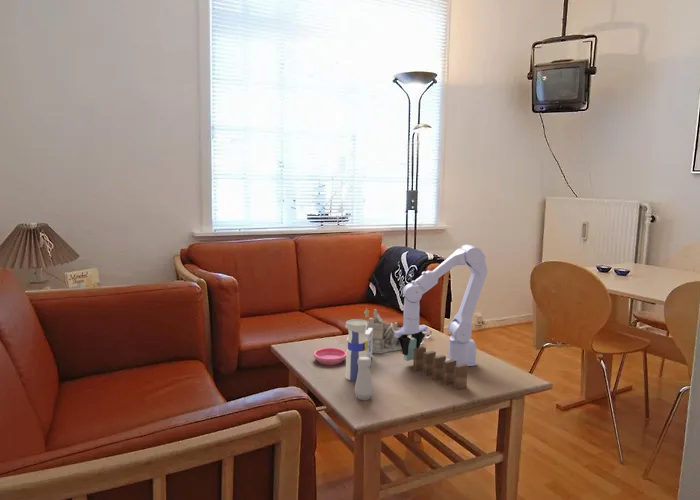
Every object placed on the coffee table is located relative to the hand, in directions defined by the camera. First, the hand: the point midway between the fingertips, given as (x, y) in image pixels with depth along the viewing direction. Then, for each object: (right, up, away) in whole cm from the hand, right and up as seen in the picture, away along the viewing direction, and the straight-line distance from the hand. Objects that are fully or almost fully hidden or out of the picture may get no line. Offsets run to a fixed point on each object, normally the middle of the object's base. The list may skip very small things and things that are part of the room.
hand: (410, 353), depth 195 cm
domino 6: (+14, -7, -20) cm, 25 cm away
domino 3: (+6, -6, -8) cm, 11 cm away
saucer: (-29, -4, +4) cm, 30 cm away
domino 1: (0, -2, 0) cm, 2 cm away
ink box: (-17, -4, +5) cm, 18 cm away
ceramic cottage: (-9, -2, +20) cm, 22 cm away
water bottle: (-20, -6, -11) cm, 23 cm away
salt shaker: (-18, -9, -28) cm, 35 cm away
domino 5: (+11, -7, -16) cm, 20 cm away
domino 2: (+3, -5, -3) cm, 7 cm away
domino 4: (+9, -6, -12) cm, 16 cm away
